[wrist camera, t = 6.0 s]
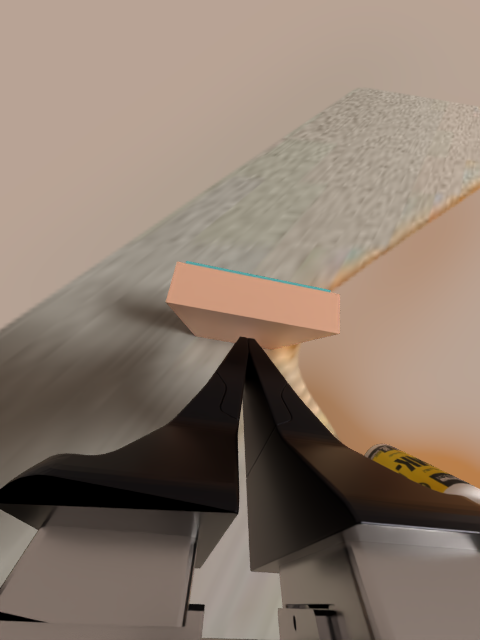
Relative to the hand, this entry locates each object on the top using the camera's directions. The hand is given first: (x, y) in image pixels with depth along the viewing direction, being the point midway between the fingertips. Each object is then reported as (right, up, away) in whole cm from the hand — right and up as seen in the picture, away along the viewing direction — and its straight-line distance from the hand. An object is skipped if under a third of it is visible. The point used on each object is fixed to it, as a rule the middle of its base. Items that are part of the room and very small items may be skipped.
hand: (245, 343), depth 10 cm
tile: (-1, 0, +8) cm, 8 cm away
